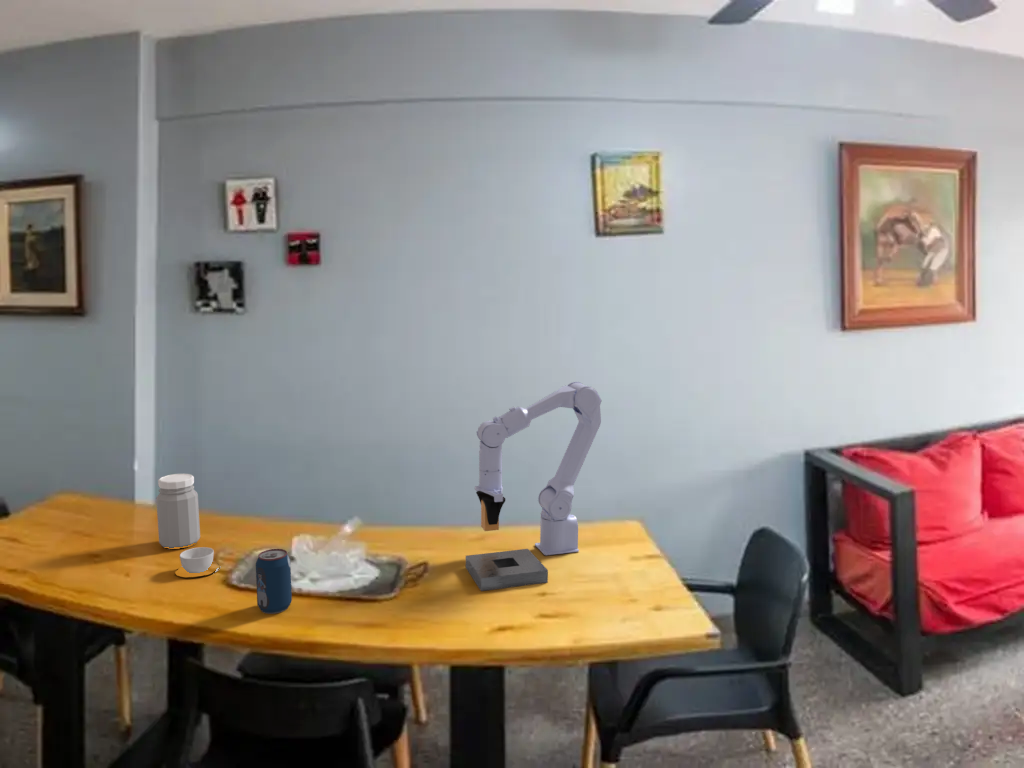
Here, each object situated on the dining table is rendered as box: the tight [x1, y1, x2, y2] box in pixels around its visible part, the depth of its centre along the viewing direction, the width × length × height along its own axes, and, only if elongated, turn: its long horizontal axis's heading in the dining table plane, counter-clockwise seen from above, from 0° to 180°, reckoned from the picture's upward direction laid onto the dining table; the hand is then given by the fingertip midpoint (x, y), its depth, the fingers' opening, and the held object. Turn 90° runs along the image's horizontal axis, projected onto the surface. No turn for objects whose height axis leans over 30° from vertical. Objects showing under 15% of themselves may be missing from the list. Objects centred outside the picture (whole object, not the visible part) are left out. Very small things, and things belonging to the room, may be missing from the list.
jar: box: [155, 473, 201, 548], centre depth 184 cm, size 10×10×18 cm
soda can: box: [255, 548, 293, 615], centre depth 149 cm, size 7×7×12 cm
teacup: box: [179, 546, 220, 573], centre depth 168 cm, size 10×10×5 cm
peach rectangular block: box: [480, 500, 500, 532], centre depth 178 cm, size 4×4×7 cm
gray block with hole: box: [465, 548, 549, 592], centre depth 167 cm, size 16×14×3 cm
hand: (490, 521), depth 178 cm, fingers closed on peach rectangular block, 4 cm apart
